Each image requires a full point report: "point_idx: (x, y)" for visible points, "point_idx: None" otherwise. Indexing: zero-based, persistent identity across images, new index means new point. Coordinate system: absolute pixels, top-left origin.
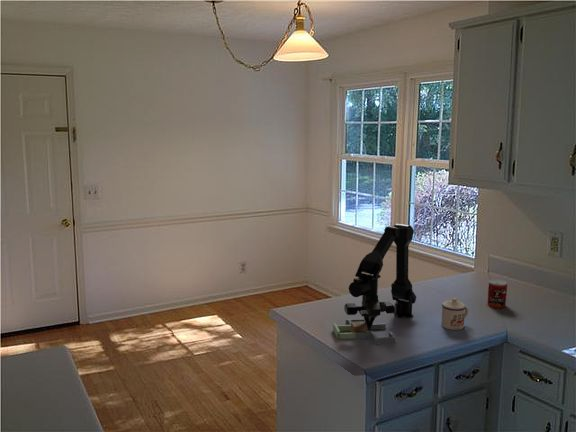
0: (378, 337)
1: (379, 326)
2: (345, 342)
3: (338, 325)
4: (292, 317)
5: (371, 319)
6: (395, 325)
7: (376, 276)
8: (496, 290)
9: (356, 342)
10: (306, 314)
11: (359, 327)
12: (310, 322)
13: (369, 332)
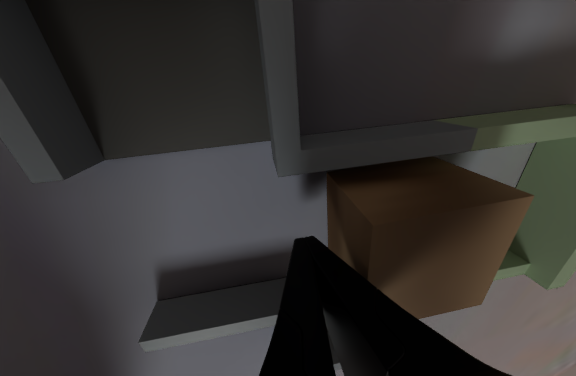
0: (221, 127)
1: (201, 312)
2: (564, 13)
3: (510, 273)
4: (566, 336)
5: (323, 353)
6: (86, 353)
7: None
8: None
9: (470, 4)
10: (502, 364)
11: (454, 201)
12: (539, 311)
13: (324, 153)
